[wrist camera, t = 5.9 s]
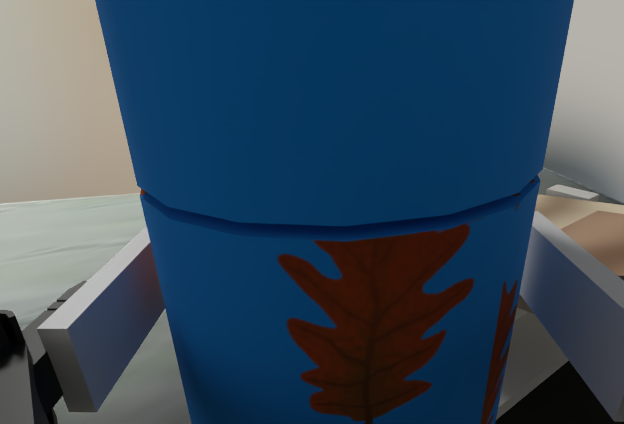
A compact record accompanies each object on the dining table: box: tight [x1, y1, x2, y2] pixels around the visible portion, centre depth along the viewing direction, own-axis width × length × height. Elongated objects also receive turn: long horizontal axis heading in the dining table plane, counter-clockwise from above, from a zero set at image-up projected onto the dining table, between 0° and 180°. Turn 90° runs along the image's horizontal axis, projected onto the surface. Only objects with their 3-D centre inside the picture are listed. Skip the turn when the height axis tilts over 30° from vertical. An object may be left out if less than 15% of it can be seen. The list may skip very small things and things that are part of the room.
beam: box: [517, 194, 624, 314], centre depth 26 cm, size 28×14×5 cm, turn 33°
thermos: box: [95, 0, 574, 424], centre depth 13 cm, size 11×11×25 cm
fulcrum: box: [496, 185, 599, 420], centre depth 28 cm, size 10×18×9 cm, turn 123°
